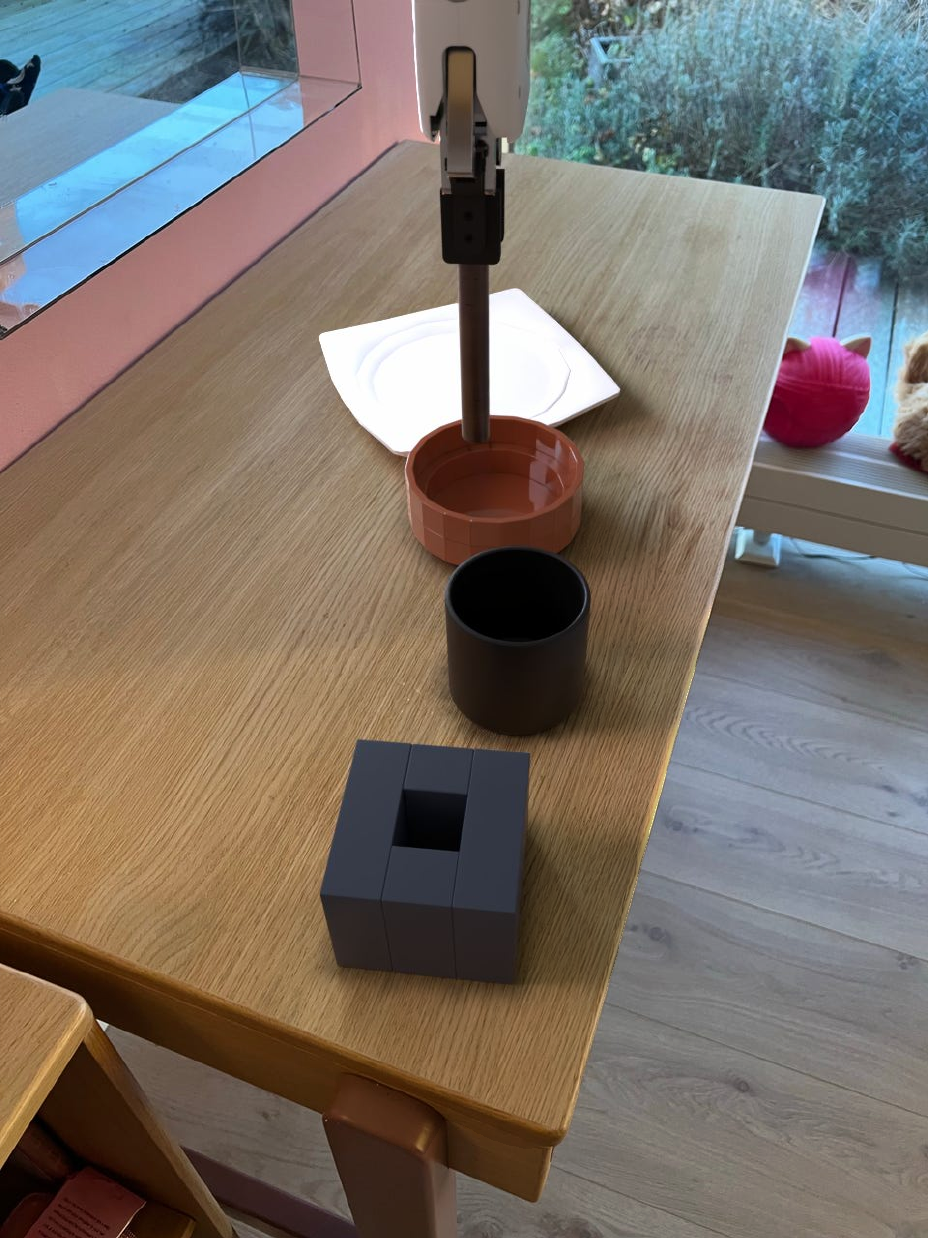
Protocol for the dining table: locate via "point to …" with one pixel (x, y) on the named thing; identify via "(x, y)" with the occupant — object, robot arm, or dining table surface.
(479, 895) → the holder
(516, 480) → the bowl
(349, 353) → the plate
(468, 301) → the stick
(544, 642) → the mug
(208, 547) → the dining table surface
